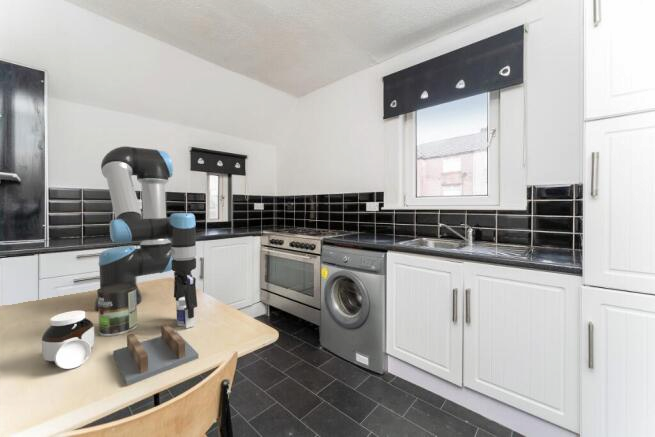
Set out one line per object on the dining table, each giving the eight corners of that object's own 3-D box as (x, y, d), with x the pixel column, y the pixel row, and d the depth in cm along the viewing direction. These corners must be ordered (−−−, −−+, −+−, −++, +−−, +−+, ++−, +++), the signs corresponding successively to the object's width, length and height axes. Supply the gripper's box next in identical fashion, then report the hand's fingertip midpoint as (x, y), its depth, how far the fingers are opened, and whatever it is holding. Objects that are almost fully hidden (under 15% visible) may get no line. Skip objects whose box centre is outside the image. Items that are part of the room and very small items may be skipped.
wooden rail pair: (127, 348, 77) (126, 334, 77) (166, 335, 84) (166, 323, 84) (140, 373, 66) (140, 357, 66) (185, 356, 73) (184, 342, 73)
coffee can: (112, 338, 85) (110, 294, 84) (91, 333, 88) (89, 290, 87) (145, 324, 94) (143, 284, 93) (124, 320, 98) (123, 281, 97)
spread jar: (76, 346, 80) (74, 307, 79) (111, 349, 79) (110, 309, 78) (27, 372, 68) (24, 326, 67) (68, 375, 67) (65, 329, 66)
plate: (113, 355, 76) (113, 350, 76) (176, 335, 87) (176, 331, 87) (126, 386, 63) (126, 381, 63) (198, 358, 75) (198, 353, 75)
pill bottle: (186, 327, 93) (186, 301, 92) (173, 325, 94) (172, 300, 93) (197, 320, 98) (196, 296, 97) (184, 319, 99) (183, 295, 98)
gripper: (162, 255, 99) (164, 316, 100) (182, 265, 84) (184, 336, 86) (184, 252, 104) (186, 310, 106) (207, 261, 90) (208, 328, 91)
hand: (185, 322), depth 96 cm, fingers open, 8 cm apart
